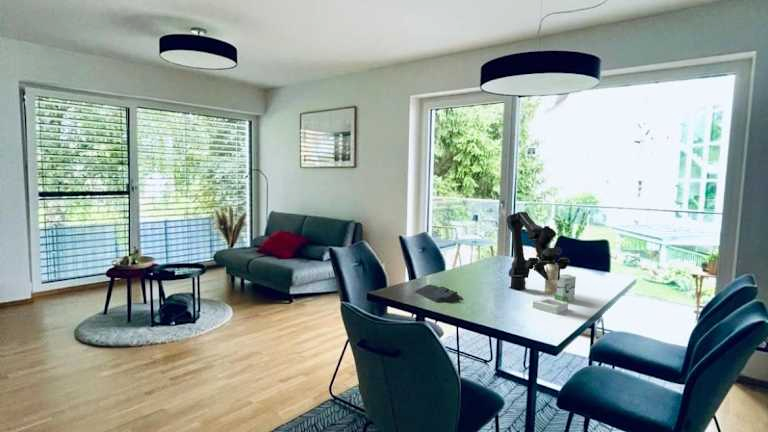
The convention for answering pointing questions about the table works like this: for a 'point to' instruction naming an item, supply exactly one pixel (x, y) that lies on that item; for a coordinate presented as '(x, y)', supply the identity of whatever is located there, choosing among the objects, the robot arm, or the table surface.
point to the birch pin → (551, 279)
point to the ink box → (565, 288)
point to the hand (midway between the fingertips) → (553, 279)
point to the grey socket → (550, 305)
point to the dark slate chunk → (438, 294)
